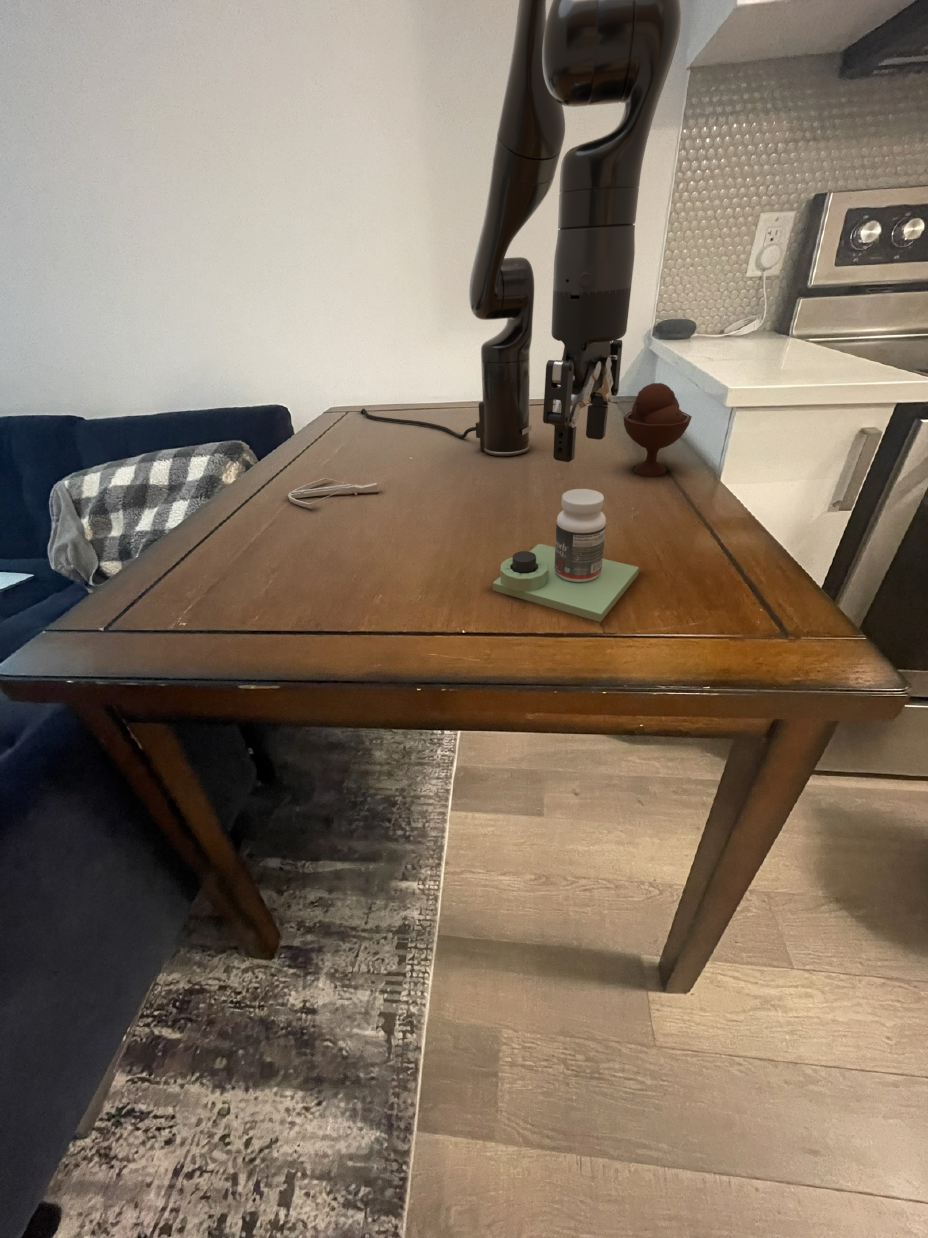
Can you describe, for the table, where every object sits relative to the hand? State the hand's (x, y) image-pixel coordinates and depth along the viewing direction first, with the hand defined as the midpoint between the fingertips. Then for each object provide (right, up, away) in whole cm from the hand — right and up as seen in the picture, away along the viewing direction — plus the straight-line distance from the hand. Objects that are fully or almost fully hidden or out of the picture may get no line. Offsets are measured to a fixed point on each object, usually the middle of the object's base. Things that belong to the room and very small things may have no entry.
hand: (580, 448), depth 62 cm
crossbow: (-37, +2, +35) cm, 50 cm away
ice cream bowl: (+20, +7, +36) cm, 42 cm away
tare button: (-6, -14, +3) cm, 15 cm away
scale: (-1, -15, +5) cm, 16 cm away
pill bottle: (+1, -14, +5) cm, 15 cm away
